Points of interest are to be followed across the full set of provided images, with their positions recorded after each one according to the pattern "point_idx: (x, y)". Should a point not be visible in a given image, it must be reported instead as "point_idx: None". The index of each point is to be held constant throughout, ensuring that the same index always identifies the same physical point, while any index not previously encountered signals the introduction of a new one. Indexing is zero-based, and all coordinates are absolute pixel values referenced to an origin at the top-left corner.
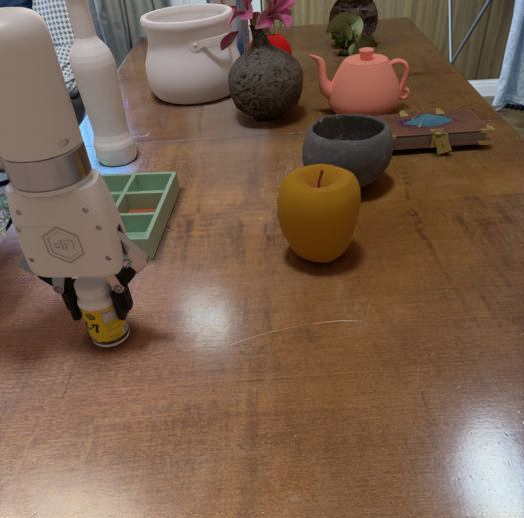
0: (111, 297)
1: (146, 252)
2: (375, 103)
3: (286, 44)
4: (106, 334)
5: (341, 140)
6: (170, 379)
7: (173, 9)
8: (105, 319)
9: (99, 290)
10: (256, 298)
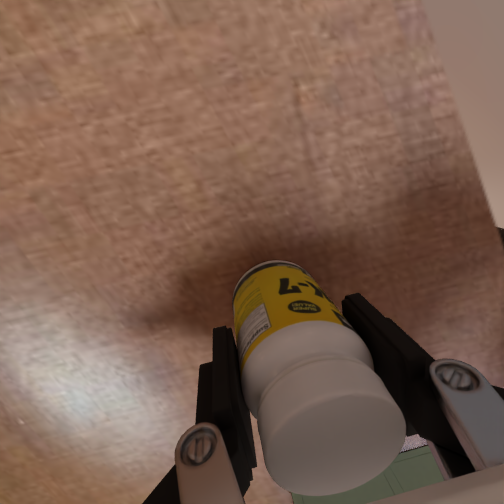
0: (234, 394)
1: (303, 500)
2: None
3: None
4: (261, 281)
5: None
6: (50, 201)
7: None
8: (259, 313)
9: (279, 416)
10: (16, 461)
